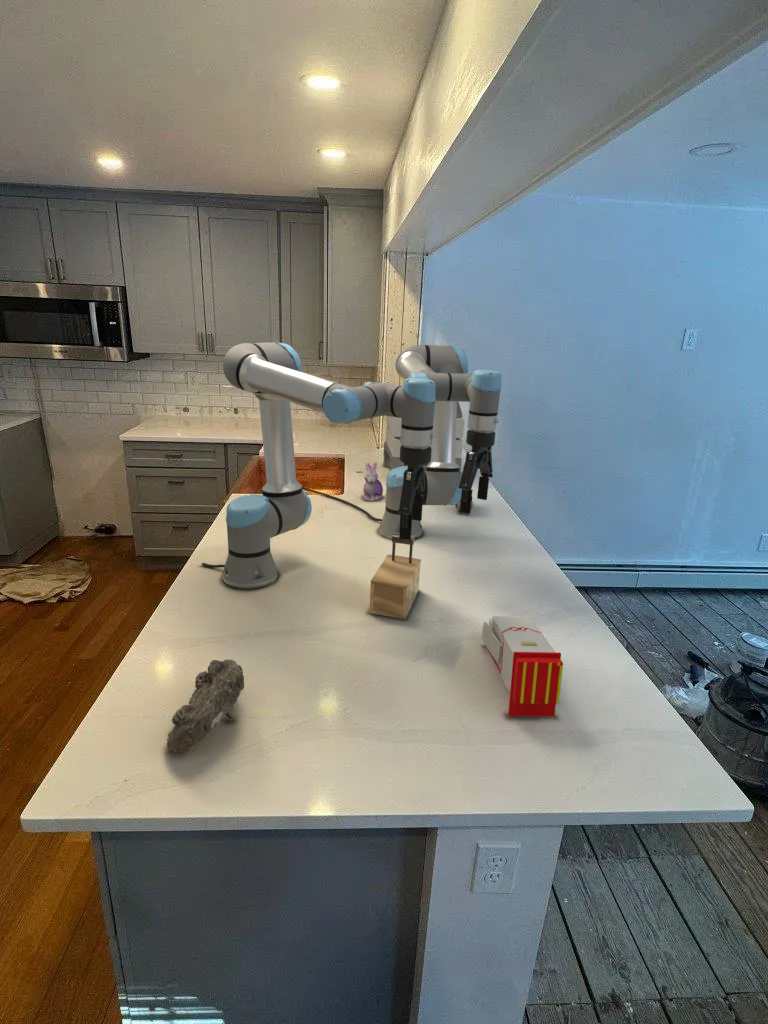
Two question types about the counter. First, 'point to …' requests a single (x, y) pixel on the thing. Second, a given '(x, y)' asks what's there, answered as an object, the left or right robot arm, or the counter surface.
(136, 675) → the counter surface
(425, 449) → the left robot arm
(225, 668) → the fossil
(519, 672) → the toy
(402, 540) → the lid
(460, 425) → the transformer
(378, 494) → the figurine
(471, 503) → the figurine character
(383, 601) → the chest
